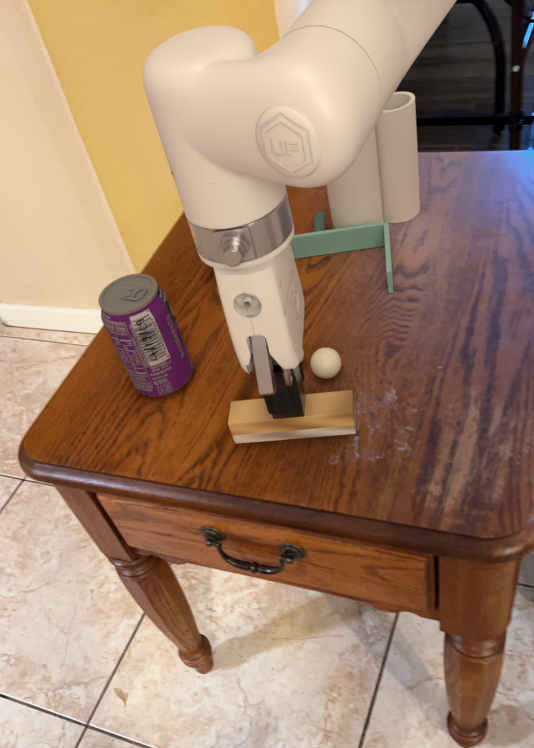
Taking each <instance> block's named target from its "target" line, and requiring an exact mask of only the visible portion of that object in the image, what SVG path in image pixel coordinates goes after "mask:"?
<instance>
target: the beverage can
mask: <svg viewBox="0 0 534 748" xmlns="http://www.w3.org/2000/svg"><path fill="white" fill-rule="evenodd" d="M97 301H98V306H99V308H100V319H101V322H102V324H103V326H104V328H105V330H106V333H107V334H108V337H109V339H110V340H111V343H112V344H113V347H114V348H115V351H116V353H117V355H118V357H119V359H120V361H121V363H122V365H123V367H124V369H125V371H126V373H127V375H128V377H129V380H130V381H131V383H132V385H133V387H134V389H135V390H136V391H137V392H138V393H139V394H141V395H143V396H146V397H154V398H155V397H163V396H168V395H170V394H173V393H175V392H176V391H179V390H180V389H181V388H183V387H184V386H185V385H186V384H187V383H188V382H189V380H190V379H191V378H192V376H193V374H194V370H195V365H194V362H193V359H192V356H191V353H190V351H189V348H188V345H187V344H186V341H185V339H184V336H183V333H182V331H181V328H180V326H179V323H178V322H177V318H176V315H175V313H174V310H173V308H172V305H171V303H170V301H169V298H168V296H167V293H166V291H164V289H162V288H161V287H160V286H159V285H158V283H157V280H156V278H154V277H153V276H152V275H150V274H147V273H131V274H127V275H123V276H121V277H118V278H117V279H115V280H113V281H111V282H110V283H108V284H107V285H106V286H105V287H104V288H103V289H102V290H101V292H100V294H99V296H98V299H97Z"/></svg>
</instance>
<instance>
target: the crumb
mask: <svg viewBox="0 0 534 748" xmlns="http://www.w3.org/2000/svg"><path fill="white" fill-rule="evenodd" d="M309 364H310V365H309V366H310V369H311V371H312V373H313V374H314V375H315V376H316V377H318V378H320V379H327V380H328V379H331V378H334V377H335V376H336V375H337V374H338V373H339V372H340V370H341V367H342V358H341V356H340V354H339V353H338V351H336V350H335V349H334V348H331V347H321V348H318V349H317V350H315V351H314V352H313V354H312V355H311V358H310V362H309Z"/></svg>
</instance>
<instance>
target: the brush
mask: <svg viewBox="0 0 534 748" xmlns="http://www.w3.org/2000/svg"><path fill="white" fill-rule="evenodd" d="M290 370H291V374H292V377H294V376H296V380H297V384H298V388H299V392H300V396H301V400H302V404H303V407H302V411H301V412H294V413H283V414H269V413H268V410H267V407H266V403H265V400H264V397H261V398H253V399H243V400H232V401H230V406H229V413H228V419H227V427H228V428H229V431H230V434H231V436H232V439H233V441H234V444H235V445H236V444H238V445H239V444H249V443H260V442H274V441H285V440H297V439H298V440H299V439H309V438H322V437H332V436H333V437H334V436H345V435H355V434H357V409H356V403H355V396H354V390H353V389H346V390H337V391H325V392H316V393H306V390H305V384H304V381H303V380H302V376H301V372H300V368H299V365H298V366H297V367H296V368H295V369H290ZM276 372H282V369H281V366H280V365H273V373H276Z"/></svg>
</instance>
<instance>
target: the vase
mask: <svg viewBox="0 0 534 748" xmlns="http://www.w3.org/2000/svg"><path fill="white" fill-rule="evenodd" d="M416 111H417V109H416V96H415V94H414V93H413V92H409V91H395V92H394V94H393V95H392V97H391V98H390V100H389V102H388V103H387V105H386V107H385V109H384V110H383V112H382V114H381V115H380V117H379V119H378V121H377V123H376V125H375V127H374V129H373V130H372V132H371V134H370V136H369V138H368V139H367V141H366V143H365V145H364V146H363V148H362V150H361V152H360V154H359V155H358V157H357V158H356V160H355V162H354V163H353V164H352V166H351V167H350V168H349V170H348V171H347V172H346V173H344V174H343V175H342V176H341V177H340V178H339V179H337V180H335V181H333V182H331V183H329V184H327V185H325V186H326V191H327V198H328V205H329V209H330V210H329V211H330V217H331V218H330V219H331V223H332V229H338V228H345V227H352V226H359V225H365V224H372V223H379V222H386V221H389V224H402V223H406V222H408V221H412V220H413V219H414V218H416V217H417V216H418V215H419V214H420V212H421V198H420V197H421V196H420V176H419V175H420V173H419V153H418V131H417V112H416Z"/></svg>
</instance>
